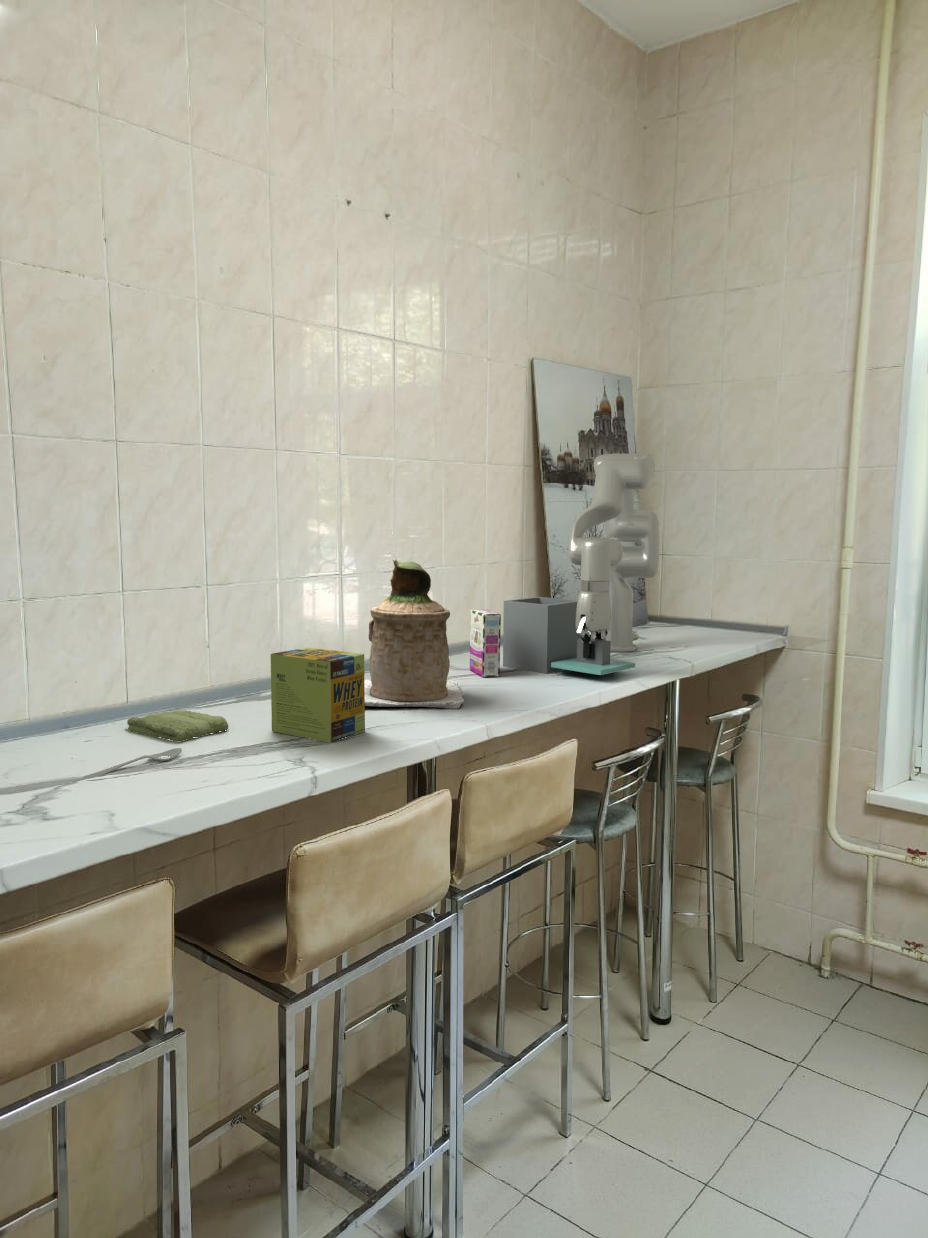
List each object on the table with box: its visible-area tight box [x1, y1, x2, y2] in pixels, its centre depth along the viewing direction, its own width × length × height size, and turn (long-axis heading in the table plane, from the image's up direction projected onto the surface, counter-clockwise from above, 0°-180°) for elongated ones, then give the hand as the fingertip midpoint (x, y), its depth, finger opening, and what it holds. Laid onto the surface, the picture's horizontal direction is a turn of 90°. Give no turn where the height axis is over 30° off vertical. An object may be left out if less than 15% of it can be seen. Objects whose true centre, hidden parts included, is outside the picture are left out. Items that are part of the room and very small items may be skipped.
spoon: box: [83, 747, 183, 779], centre depth 150 cm, size 4×21×2 cm, turn 140°
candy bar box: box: [469, 609, 502, 678], centre depth 232 cm, size 11×5×16 cm, turn 18°
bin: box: [502, 596, 581, 674], centre depth 243 cm, size 15×15×18 cm
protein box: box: [270, 647, 366, 743], centre depth 173 cm, size 10×15×16 cm
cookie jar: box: [364, 558, 465, 709], centre depth 203 cm, size 25×25×32 cm
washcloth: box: [126, 709, 229, 742], centre depth 174 cm, size 13×18×3 cm
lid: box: [551, 638, 636, 676], centre depth 232 cm, size 16×16×7 cm
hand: (593, 656), depth 232 cm, fingers closed on lid, 3 cm apart
